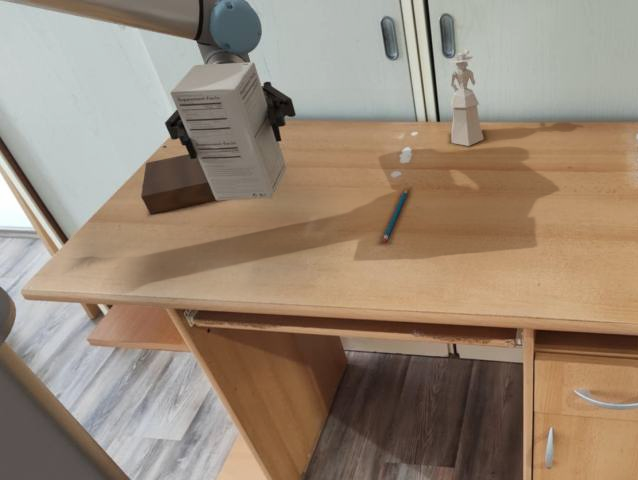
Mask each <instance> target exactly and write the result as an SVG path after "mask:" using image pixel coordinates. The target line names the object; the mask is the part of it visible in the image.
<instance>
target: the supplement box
mask: <svg viewBox="0 0 638 480" xmlns="http://www.w3.org/2000/svg"><path fill="white" fill-rule="evenodd" d="M262 86H263V85H262V83H261V80H260V77H259V74H258V69H257V68H256V63H255V62H253V61H250V62H247V63H228V64H206V65H205V64H196V65H195V64H194V65H193V66H192V67H191V68H190V69H189V71H188V72H187V73H186V74H185V75H184V76H183V77H182V79H181V80H180V81H179V82H178V83H177V84H176V85H175V86H174V88H173V89H172V90H171V91H170V96H171V98H172V101H173V103H174V106H175V108H176V110H178V112H179V115H180V117H181V119H182V122H183V124H184V126H185V129H186V131H187V133H188V136H189V138H190V140H191V143H192V145H193V147H194V150H195V152H196V154H197V157H198V159H199V162H200V164H201V166H202V169H203V171H204V173H205V176H206V178H207V180H208V183H209V185H210V187H211V190H212V192H213V194H214V197H215V199H216V200H215V201H241V200H245V201H246V200H269V199H273V198H274V197H275V194H276V192H277V190H278V188H279V185H280V184H281V181H282V179H283V177H284V175H285V172H286V171H287V164H286V161H285V158H284V155H283V152H282V148H281V144H280V141H279V142H276V139H275V136H274V133H273V129H272V126H271V122H270V117H269V111H268V106H267V103H266V99H265V96H264V93H263V89H262Z"/></svg>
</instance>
